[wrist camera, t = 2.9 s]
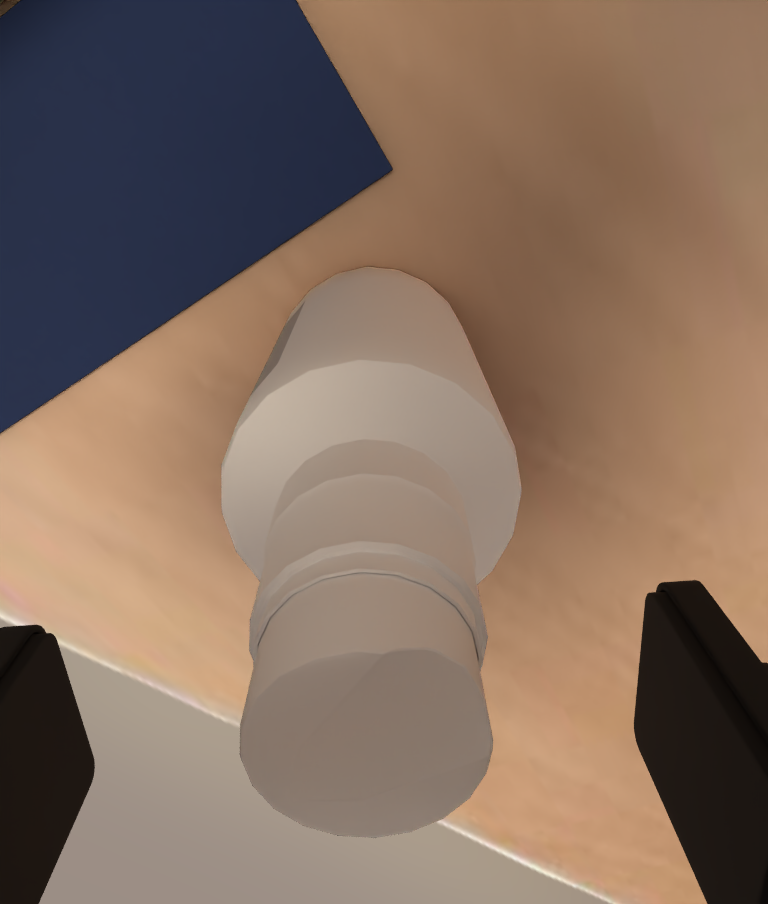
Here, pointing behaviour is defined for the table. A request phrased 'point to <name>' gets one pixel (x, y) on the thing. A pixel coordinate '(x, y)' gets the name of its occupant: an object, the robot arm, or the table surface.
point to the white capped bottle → (369, 556)
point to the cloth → (153, 168)
